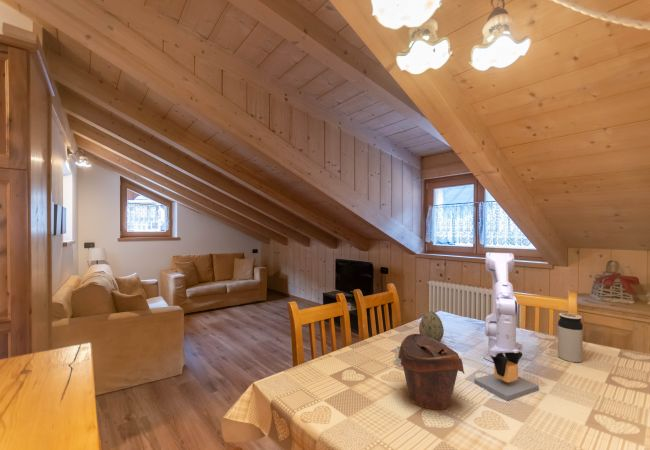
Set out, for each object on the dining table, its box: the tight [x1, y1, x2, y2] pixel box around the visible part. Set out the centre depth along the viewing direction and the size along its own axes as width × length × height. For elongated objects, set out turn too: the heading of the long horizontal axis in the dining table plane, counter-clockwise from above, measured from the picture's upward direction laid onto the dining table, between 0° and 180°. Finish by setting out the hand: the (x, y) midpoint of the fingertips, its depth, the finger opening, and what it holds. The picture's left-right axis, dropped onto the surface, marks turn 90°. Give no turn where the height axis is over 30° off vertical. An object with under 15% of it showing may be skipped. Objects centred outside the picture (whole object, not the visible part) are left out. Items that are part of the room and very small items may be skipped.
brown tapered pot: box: [398, 333, 465, 411], centre depth 98 cm, size 18×20×18 cm
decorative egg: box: [418, 310, 445, 342], centre depth 144 cm, size 11×11×15 cm
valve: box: [394, 345, 403, 367], centre depth 123 cm, size 7×7×12 cm
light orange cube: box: [493, 361, 519, 382], centre depth 106 cm, size 5×5×5 cm
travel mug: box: [557, 312, 584, 363], centre depth 129 cm, size 8×8×18 cm
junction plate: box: [473, 373, 540, 402], centre depth 106 cm, size 16×12×5 cm
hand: (505, 373), depth 106 cm, fingers closed on light orange cube, 5 cm apart
